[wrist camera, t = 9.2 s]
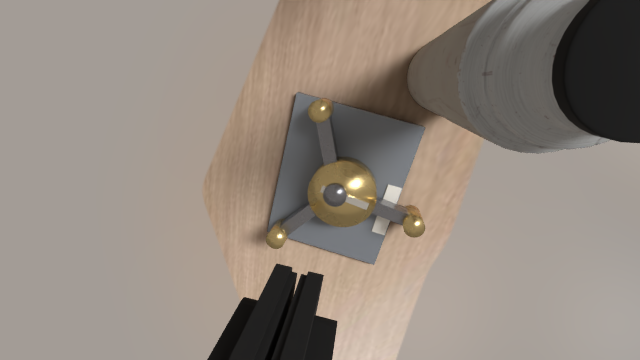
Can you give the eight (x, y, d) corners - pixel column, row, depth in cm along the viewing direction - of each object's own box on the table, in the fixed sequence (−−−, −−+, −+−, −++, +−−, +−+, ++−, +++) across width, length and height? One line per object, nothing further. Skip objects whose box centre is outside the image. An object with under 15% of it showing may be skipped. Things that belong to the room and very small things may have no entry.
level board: (298, 92, 38) (296, 92, 36) (423, 126, 36) (425, 127, 35) (269, 228, 44) (266, 232, 43) (374, 260, 43) (374, 265, 42)
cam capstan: (273, 229, 43) (263, 244, 39) (318, 95, 36) (312, 96, 32) (387, 275, 42) (389, 295, 38) (455, 147, 35) (466, 155, 32)
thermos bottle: (476, 109, 35) (794, 194, 9) (406, 113, 36) (495, 196, 10) (483, 34, 33) (952, -163, 6) (407, 41, 34) (529, -96, 8)
